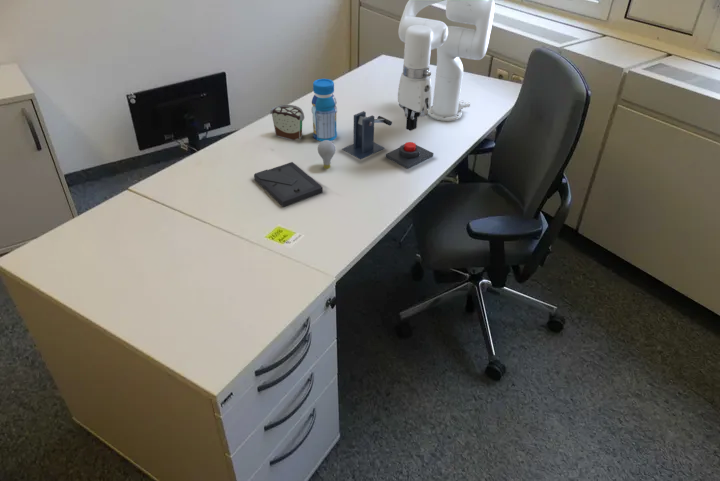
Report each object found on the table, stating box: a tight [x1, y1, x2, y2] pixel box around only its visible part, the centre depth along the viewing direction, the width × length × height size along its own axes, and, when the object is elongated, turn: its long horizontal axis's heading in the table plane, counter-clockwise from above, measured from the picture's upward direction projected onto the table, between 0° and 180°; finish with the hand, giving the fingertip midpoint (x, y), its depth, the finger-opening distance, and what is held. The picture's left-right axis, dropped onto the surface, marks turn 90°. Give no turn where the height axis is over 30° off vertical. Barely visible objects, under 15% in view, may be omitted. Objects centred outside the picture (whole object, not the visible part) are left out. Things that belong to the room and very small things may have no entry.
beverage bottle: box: [311, 78, 338, 142], centre depth 181 cm, size 8×8×20 cm
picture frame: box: [253, 161, 324, 208], centre depth 162 cm, size 13×2×18 cm
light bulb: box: [317, 140, 337, 170], centre depth 167 cm, size 5×5×10 cm
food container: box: [269, 104, 305, 141], centre depth 185 cm, size 12×6×10 cm, turn 65°
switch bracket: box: [341, 110, 385, 160], centre depth 176 cm, size 11×9×13 cm
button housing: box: [384, 143, 434, 170], centre depth 175 cm, size 12×10×4 cm
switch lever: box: [358, 115, 393, 127], centre depth 176 cm, size 12×6×2 cm, turn 134°
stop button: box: [404, 141, 417, 152], centre depth 173 cm, size 4×4×2 cm
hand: (411, 128), depth 169 cm, fingers closed
